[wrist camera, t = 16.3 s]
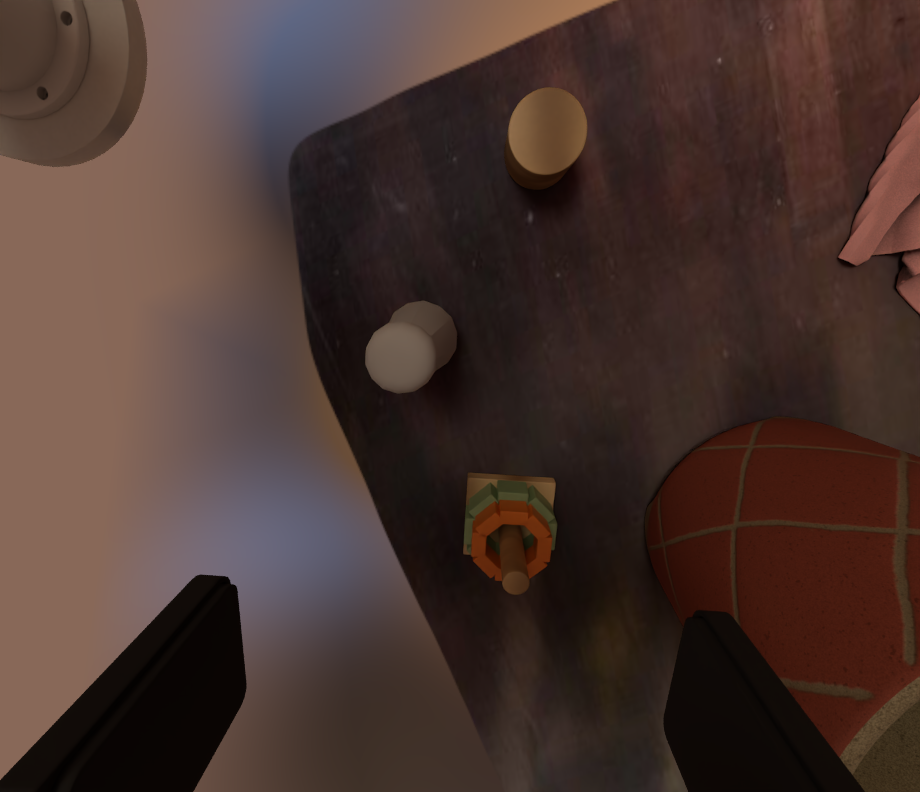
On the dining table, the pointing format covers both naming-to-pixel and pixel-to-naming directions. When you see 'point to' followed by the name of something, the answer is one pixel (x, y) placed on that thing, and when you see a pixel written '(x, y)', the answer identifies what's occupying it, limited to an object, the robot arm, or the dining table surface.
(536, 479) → the post
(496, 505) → the top ring
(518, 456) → the dining table surface
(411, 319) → the salt shaker
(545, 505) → the bottom ring
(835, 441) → the planter
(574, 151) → the stand
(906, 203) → the cloth
